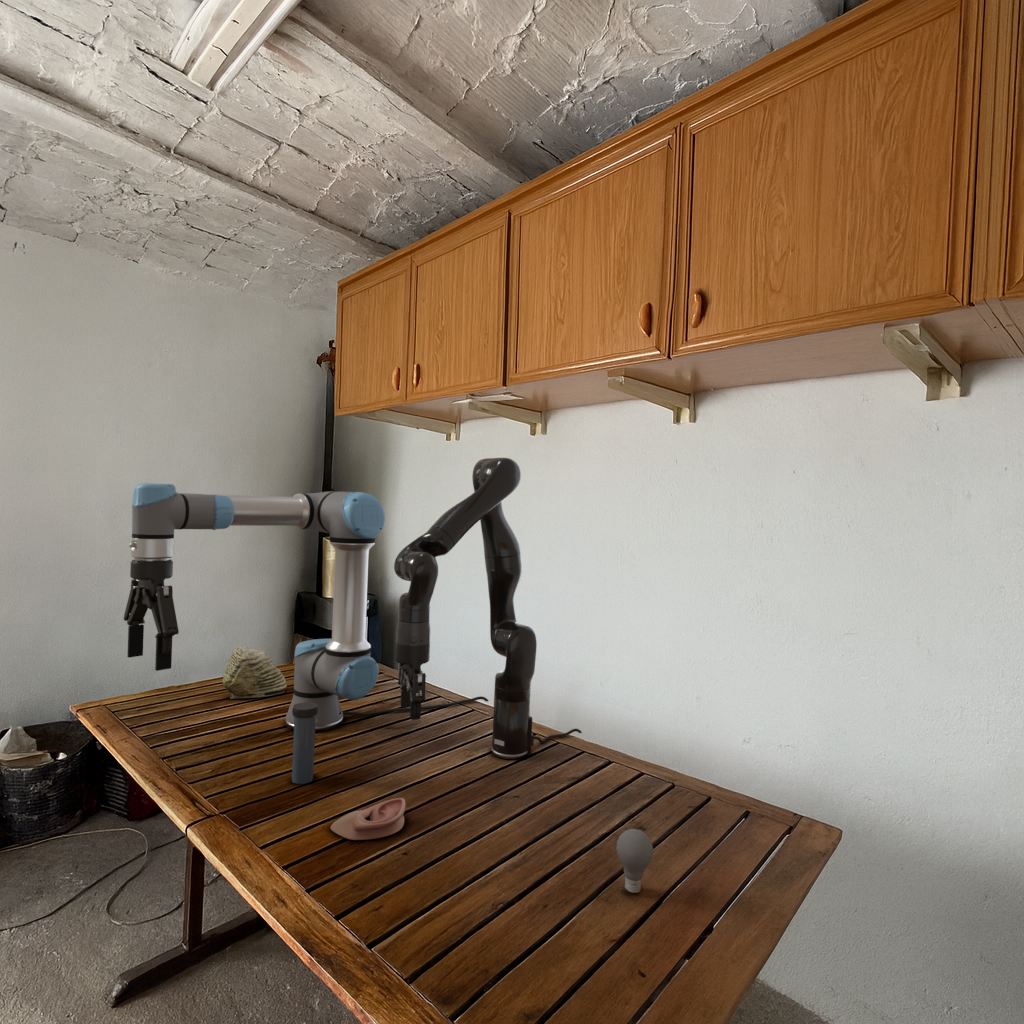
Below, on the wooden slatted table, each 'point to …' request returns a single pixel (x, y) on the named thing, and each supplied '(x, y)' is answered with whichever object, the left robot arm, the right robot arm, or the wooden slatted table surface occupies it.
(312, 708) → the lid
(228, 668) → the fossil
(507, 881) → the wooden slatted table surface
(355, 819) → the anatomical model
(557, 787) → the wooden slatted table surface
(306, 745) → the jar
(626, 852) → the light bulb
